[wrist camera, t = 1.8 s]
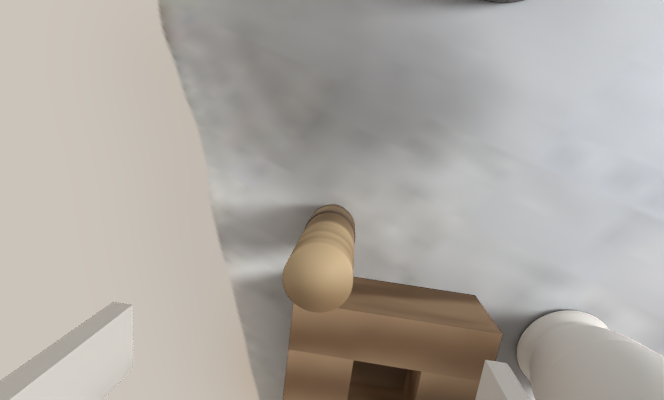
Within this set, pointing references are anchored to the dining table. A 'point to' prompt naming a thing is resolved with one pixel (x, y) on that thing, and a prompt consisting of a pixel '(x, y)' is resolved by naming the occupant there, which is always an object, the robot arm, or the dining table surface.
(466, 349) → the wooden block with hole
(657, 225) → the dining table surface
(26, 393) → the robot arm
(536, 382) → the jar
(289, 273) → the peg
